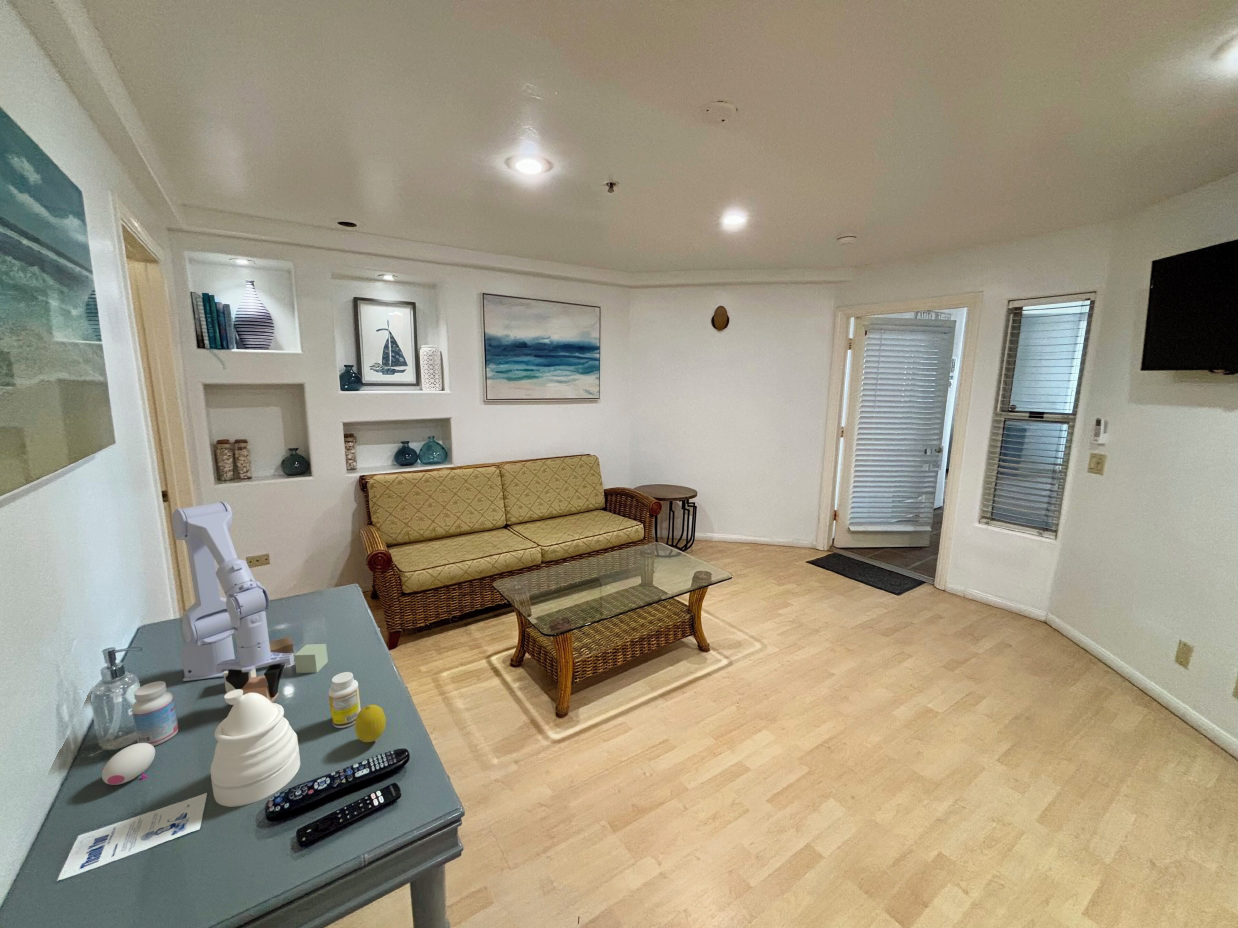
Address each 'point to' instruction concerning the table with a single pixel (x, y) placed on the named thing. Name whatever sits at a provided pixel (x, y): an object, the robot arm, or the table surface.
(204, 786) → the table surface
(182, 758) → the table surface
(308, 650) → the sage block
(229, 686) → the cream block
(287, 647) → the walnut block
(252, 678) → the terracotta block
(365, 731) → the lemon
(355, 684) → the supplement bottle
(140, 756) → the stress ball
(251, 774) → the honey pot
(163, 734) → the pill bottle
